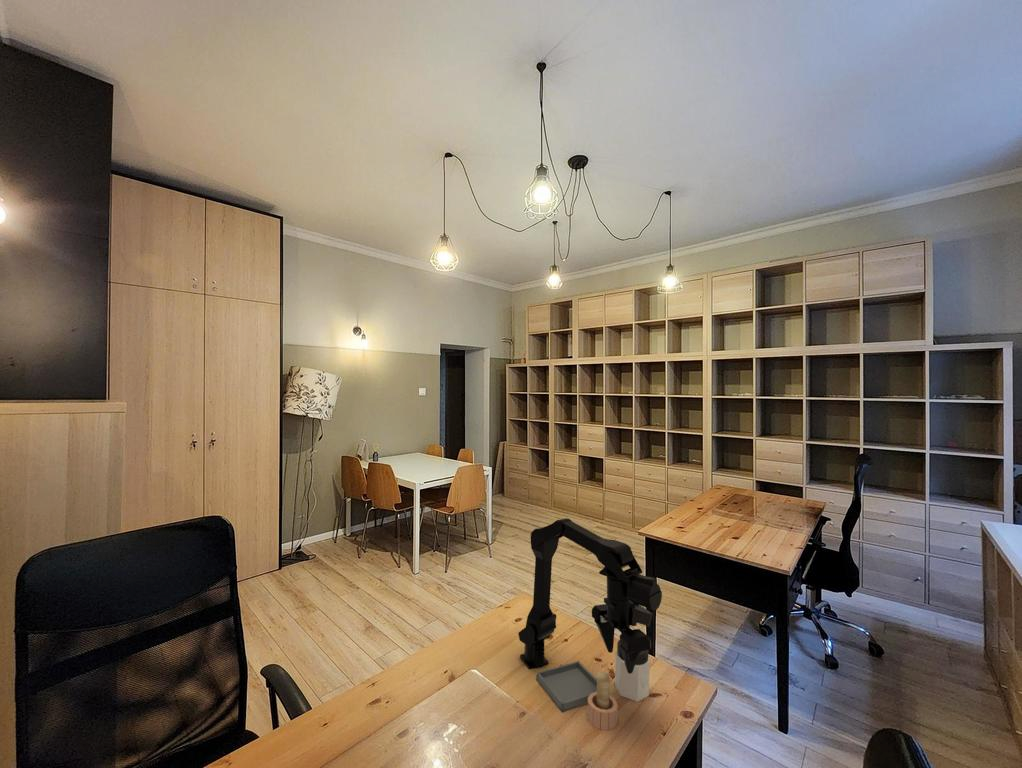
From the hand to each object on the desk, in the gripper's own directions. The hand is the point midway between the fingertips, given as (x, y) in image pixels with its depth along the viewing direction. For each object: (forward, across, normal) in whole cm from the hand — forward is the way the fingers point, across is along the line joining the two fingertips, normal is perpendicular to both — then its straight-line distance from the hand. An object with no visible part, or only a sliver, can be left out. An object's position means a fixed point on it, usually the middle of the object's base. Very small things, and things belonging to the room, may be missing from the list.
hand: (619, 662), depth 101 cm
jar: (+13, +8, -8) cm, 18 cm away
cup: (+13, +1, +5) cm, 14 cm away
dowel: (+13, +1, +5) cm, 13 cm away
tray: (+13, +12, +8) cm, 19 cm away
